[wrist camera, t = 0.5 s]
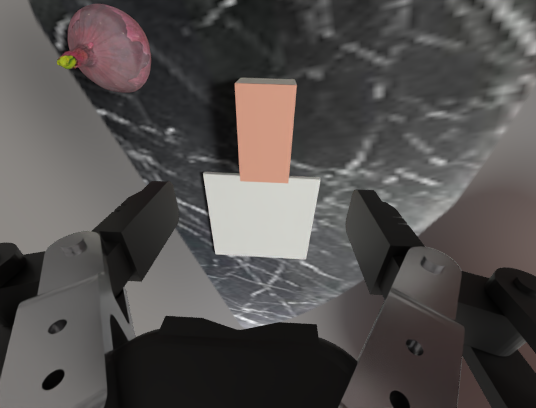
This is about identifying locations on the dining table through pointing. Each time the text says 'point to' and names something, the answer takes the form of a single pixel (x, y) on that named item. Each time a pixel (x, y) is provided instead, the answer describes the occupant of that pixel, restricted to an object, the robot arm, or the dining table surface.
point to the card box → (265, 128)
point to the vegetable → (108, 48)
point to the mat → (261, 215)
